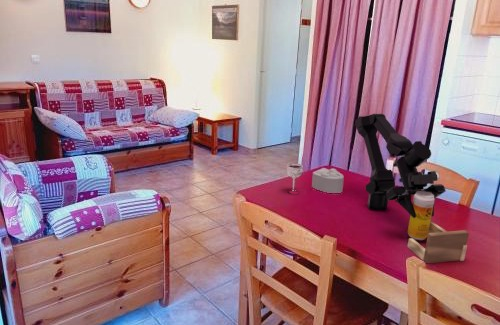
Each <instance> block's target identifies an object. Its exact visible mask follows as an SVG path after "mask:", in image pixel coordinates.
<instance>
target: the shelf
mask: <svg viewBox="0 0 500 325" xmlns="http://www.w3.org/2000/svg"><path fill="white" fill-rule="evenodd" d="M469 235H470V232H468V231H467V230H465V229H464V230H463V229H462V230H454V231H452V230H451V231H447V230H446V229H444V228H443V227H441V226H439V225H438V224H436V223H435V222H433V221H432V220H431V221H430V226H429V231H428V236H427V238H426V243H425V247H424V246H423V245H421V244H420V243H419V242H418V241H417V240H416V239H413V238H411V237H410V238H408V242H407V248H408V249H409V250H410V251H412V252H413V254H415V255H416V256H417V257H418V258H420V259H421V260H422V261H423V262H424V261H425V262H424V263H426V264H435V263H444V262H453V261H460V262H461V261H462V262H463V261H465V258H466V253H467V249H468V245H467V244H468V240H469Z"/></svg>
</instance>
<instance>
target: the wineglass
mask: <svg viewBox="0 0 500 325" xmlns="http://www.w3.org/2000/svg"><path fill="white" fill-rule="evenodd" d="M286 167H287V168H286V174H287V175H288V176H289V177H290V178H292V191H294V190H295V182H296V179H297V178H299V177H300V176H301V175H302V174H303V172H304V170H303V167H304V165H303V164H302V163H297V162H292V163H288V164H286Z"/></svg>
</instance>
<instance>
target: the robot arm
mask: <svg viewBox="0 0 500 325" xmlns="http://www.w3.org/2000/svg"><path fill="white" fill-rule="evenodd" d="M354 126H355V129H356V130H357V133H358V134H359V135H360V136H361V137H362V138H363V139H364V145H365V147H366V151H367V154H368V155H367V156H368V160H369V163H370V166H371V167H370V168H371V174H370V177H369V180H370V181H369V182H368V183H367V184H366V185H365V192H367V193H368V201H367V202H366V205H367V208H368V210H372V211H384V212H386V211H387V208H388V204H389V202H390V201H394V202H395V203H398V205H400V206H401V207H402V208H403V209H404V210H405V211H406V212H407V213H408V214H409V215H411V216H412V217H413V218H415V217H416V214H415V210H414V207H413V200H412V196H414V195H415V194H416V192H417V191H425V192H429V193H432V194H433V195H434V199H435V200H436V198H437V197H439V196H441V195H442V194H444V193H446V192H447V190H446V187H445V186H444V185H443V184H442V183H441V184H440V183H439V184H438V183H437V184H435V182H437V181H438V180H439V176H438V174H437V172H436V170H435V171H434V170H431V171H427V173H425V174H423V173H422V172H421V171H419V170H418V167H420V166H421V165H422V164H423V163H425V162H426V161H427V160H429V159H430V158H431V157H432V151H431V148H429V147H428V146H427V145H425V144H423V142H422V141H421V140H418V141H414V142H413V143H412V141H411V139H408V138H407V137H406V136H404V135H401V134H399V132H397V130H396V129H395V128H394V127H393V126H392V124H391V122H389V120H388V119H387V118H386V115H385V113H372V114H369V115H360V116H358V117H357V118H356V119H355V123H354ZM377 133H379V134H380V135H381V137H382V138H383V139H384V140H385V143H386V146H385V148H386V150H387V152H388V154H389V155H390V157H399V158H395V160H394V162H393V165H392V166H393V168H397V170H398V173H399V176H400V178H399V179H398V181H399V183H402V185H403V186H402V185H401V186H399V185H398V186H396V181H395V180H396V179H395V176H394V172H393V171H392V170H393V169H388V168H387V167H386V165H385V161H384V158H383V154H382V151H381V147H380V144H379V139H378V137H377ZM428 184H431V185H429V186H428ZM426 187H427V188H426ZM435 200H434V203H435ZM434 215H435V204H434V205H433V211H432V216H431V218H432V217H434Z"/></svg>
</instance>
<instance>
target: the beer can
mask: <svg viewBox="0 0 500 325" xmlns="http://www.w3.org/2000/svg"><path fill="white" fill-rule="evenodd" d="M434 200H436V198H435V199H434V195H433V194H432V193H429V192H425V191H417V192H416V194H415V195H413V199H412V204H413V207H414V210H415V214H416V217H415V218H413V217H412V216H411V215H410V214H409V215H410V216H409V221H408V228H407V234H408V236H409V237H410V238H413V239H414V240H415V241H423V240H426V239H427V237H428V231H429V226H430V221H432V217H431V216H432V211H433V205H434V206H435V202H434Z"/></svg>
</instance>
